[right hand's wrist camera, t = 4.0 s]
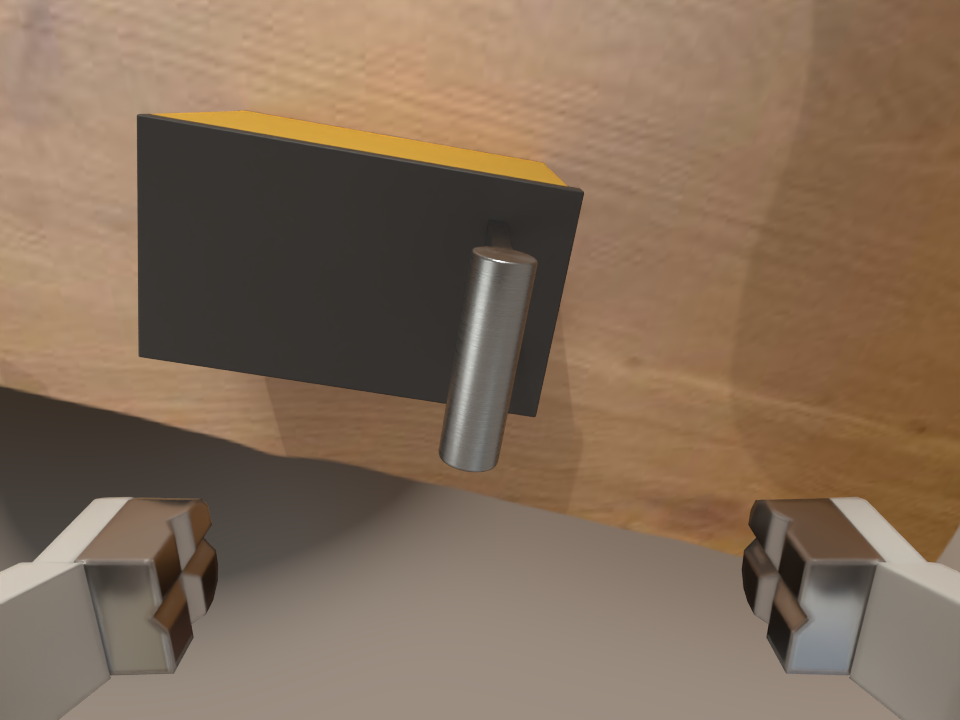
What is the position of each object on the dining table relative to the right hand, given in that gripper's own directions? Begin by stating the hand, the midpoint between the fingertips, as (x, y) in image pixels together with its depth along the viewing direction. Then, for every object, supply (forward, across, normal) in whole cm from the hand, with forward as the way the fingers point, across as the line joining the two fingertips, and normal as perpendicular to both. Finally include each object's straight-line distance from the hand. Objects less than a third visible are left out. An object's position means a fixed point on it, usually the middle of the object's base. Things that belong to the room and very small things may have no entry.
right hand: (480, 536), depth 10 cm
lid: (+18, -5, 0) cm, 19 cm away
